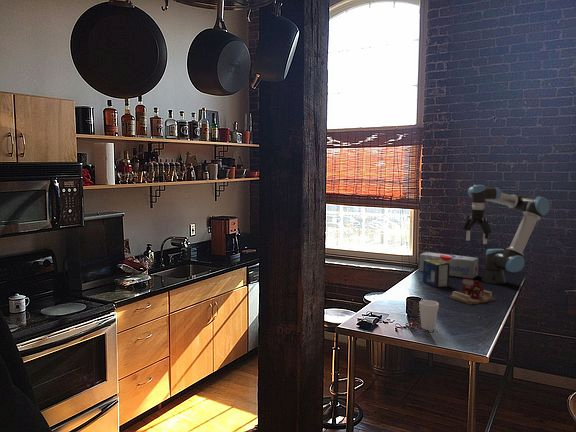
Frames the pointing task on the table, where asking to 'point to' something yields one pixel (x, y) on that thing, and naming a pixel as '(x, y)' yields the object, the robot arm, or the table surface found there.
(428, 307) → the foam cup
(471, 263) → the soda pack
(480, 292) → the toy fire truck
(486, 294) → the cradle
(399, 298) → the table surface
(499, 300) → the table surface
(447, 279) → the protein box
